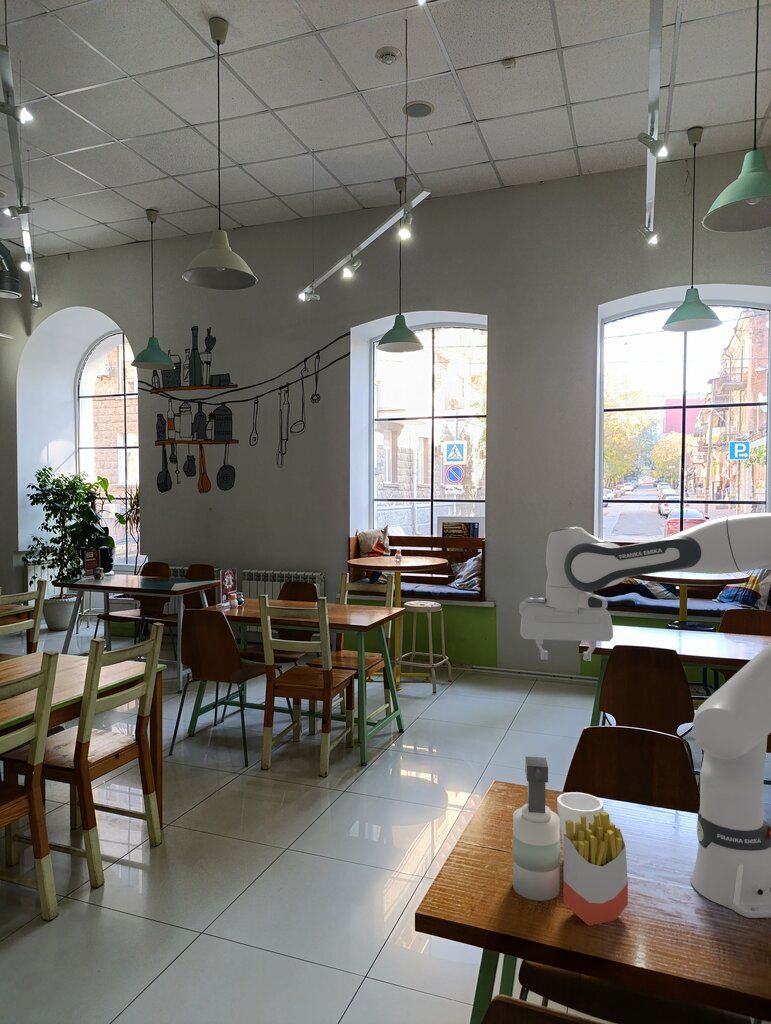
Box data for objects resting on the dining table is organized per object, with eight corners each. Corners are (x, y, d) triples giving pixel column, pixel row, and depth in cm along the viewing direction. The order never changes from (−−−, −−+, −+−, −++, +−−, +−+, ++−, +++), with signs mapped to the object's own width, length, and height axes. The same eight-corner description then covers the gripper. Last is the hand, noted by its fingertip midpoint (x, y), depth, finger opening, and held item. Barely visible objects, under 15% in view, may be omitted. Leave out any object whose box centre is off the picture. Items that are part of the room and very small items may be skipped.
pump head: (545, 803, 134) (545, 757, 134) (550, 824, 125) (550, 775, 125) (525, 802, 134) (525, 756, 134) (528, 822, 125) (528, 773, 125)
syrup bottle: (557, 876, 135) (557, 771, 135) (562, 903, 126) (563, 789, 126) (511, 873, 137) (511, 768, 137) (513, 898, 128) (513, 786, 128)
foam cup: (605, 877, 135) (605, 813, 135) (558, 872, 137) (558, 809, 137) (599, 853, 145) (600, 794, 145) (556, 849, 146) (556, 790, 146)
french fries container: (629, 919, 121) (629, 820, 121) (577, 929, 118) (577, 828, 118) (613, 905, 126) (613, 809, 126) (563, 914, 123) (563, 817, 123)
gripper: (519, 599, 149) (519, 661, 148) (614, 601, 146) (614, 664, 146) (518, 595, 155) (518, 655, 155) (609, 597, 152) (609, 658, 152)
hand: (565, 659), depth 150 cm, fingers open, 8 cm apart
